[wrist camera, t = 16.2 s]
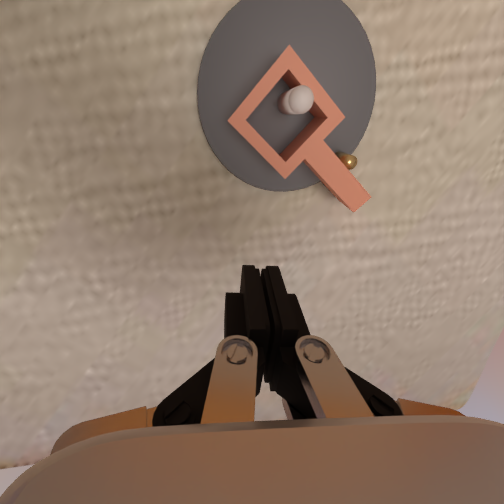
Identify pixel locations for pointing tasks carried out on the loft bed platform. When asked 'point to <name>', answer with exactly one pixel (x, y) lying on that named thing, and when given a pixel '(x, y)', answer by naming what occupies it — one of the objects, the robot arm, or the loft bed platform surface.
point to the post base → (281, 96)
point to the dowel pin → (347, 159)
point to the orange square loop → (302, 132)
